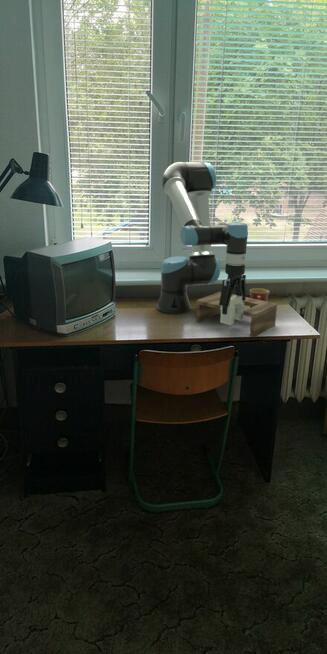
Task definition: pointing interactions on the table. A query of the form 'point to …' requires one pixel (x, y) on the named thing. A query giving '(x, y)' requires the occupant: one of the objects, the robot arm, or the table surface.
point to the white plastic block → (234, 303)
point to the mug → (259, 294)
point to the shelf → (240, 312)
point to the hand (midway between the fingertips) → (231, 318)
